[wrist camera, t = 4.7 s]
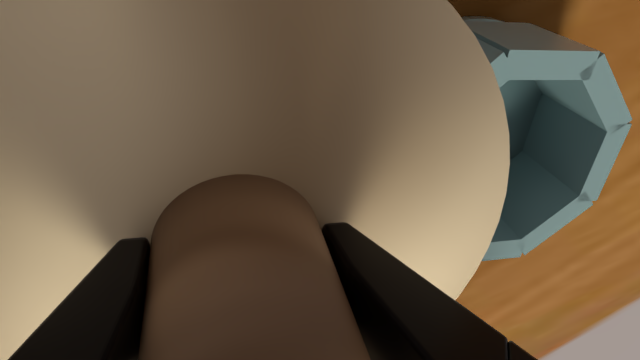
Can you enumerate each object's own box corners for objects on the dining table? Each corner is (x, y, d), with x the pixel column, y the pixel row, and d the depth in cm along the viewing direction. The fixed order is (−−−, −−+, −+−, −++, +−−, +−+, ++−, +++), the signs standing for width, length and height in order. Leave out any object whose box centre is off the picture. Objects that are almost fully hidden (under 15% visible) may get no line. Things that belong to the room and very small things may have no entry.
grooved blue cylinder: (350, 202, 23) (386, 270, 19) (376, 12, 18) (431, 48, 14) (510, 191, 25) (573, 251, 21) (569, 19, 21) (665, 52, 16)
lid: (5, 418, 10) (-101, 724, 6) (-252, -136, 5) (-1513, -199, 1) (428, 351, 12) (529, 547, 9) (549, -75, 7) (919, -35, 4)
